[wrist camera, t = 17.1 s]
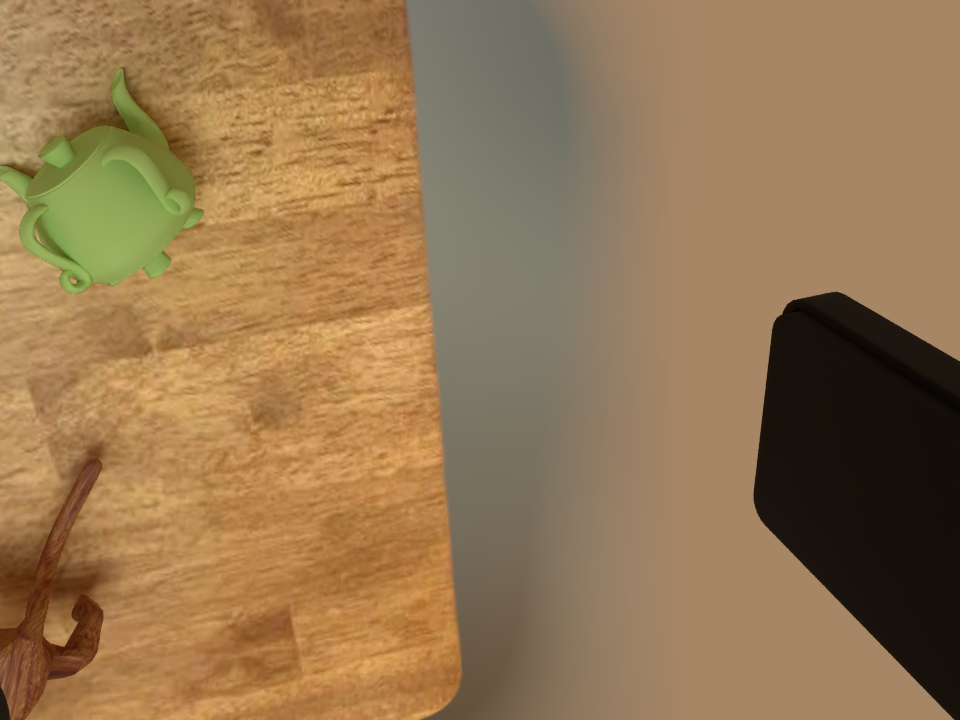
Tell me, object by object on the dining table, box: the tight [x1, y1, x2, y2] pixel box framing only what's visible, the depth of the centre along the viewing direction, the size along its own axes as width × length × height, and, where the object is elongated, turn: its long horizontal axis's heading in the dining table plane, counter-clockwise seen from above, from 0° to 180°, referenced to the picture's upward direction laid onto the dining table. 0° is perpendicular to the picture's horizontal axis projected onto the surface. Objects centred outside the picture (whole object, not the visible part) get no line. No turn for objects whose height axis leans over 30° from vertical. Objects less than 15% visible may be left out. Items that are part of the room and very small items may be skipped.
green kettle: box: [0, 68, 204, 294], centre depth 32 cm, size 6×5×6 cm
